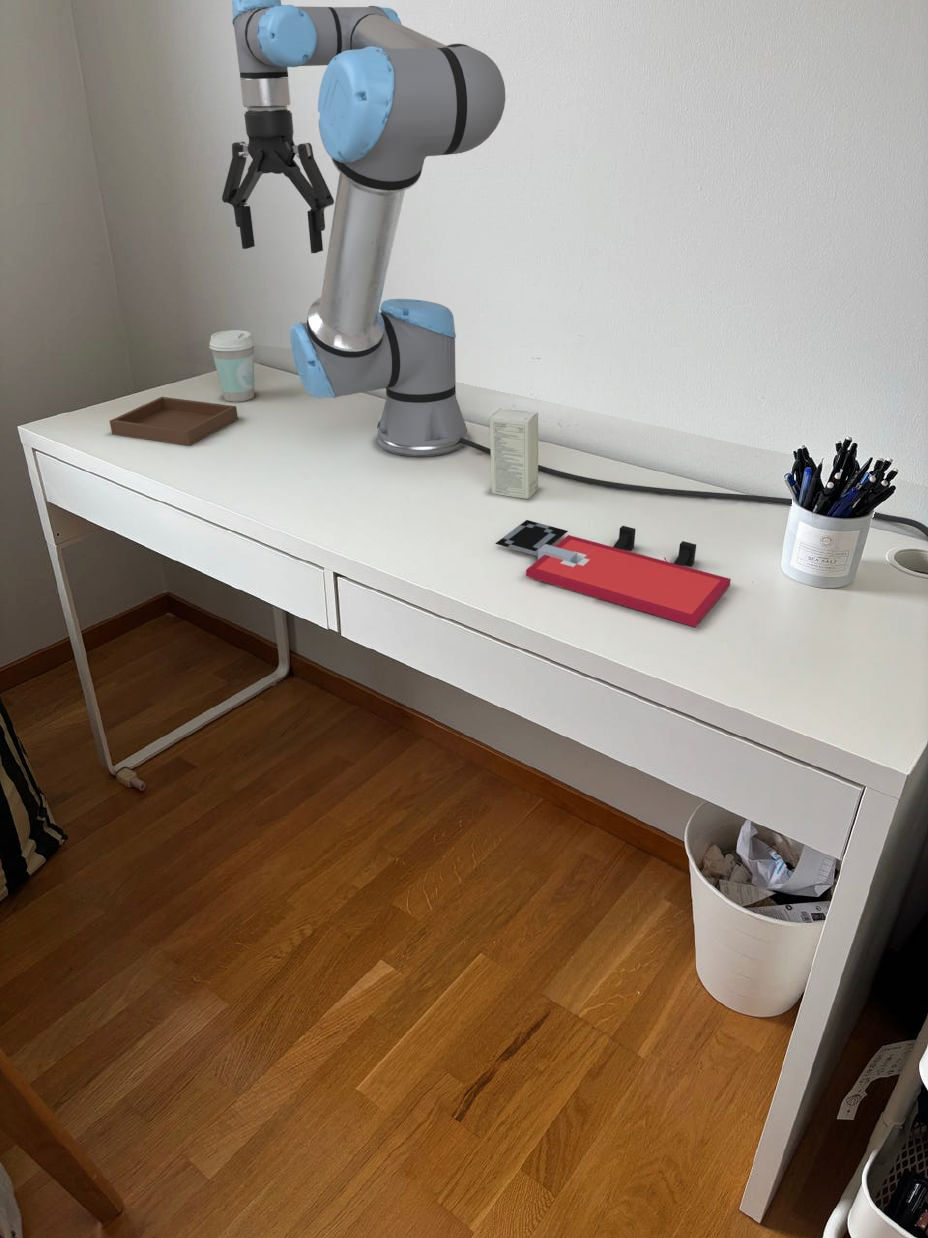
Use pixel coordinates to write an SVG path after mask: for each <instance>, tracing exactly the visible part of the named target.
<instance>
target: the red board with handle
mask: <svg viewBox="0 0 928 1238" xmlns="http://www.w3.org/2000/svg"><path fill="white" fill-rule="evenodd" d="M568 532H569V530H567V529H562V528H558V527H555V526H551V525H547V524H544V523H540V522H536V521H533V520H529V519H525V520H524V521H522V523H520V524H519V525H518V526H516V527H515V528H514V529H512V530H511V531H509V532H508V533H507V534H506V535H504V536H503V537H502V538H500V539H499V540H498V541H496V542H495V543H494V544H495V545H497V546H502V547H505V548H507V549H511V550H515V551H519V552H522V553H526V554H529V555H532V556H536V557H537V560H536V561H535V562H533V563H532V564H531V565H530V566H528V567H527V568H526V569H525V577H527V578H531V579H533V580H536V581H541V582H544V583H547V584H550V585H554V586H557V587H561V588H564V589H567V590H571V591H573V592H576V593H579V594H580V593H581V594H584V595H587V596H591V597H593V598H596V599H600V600H604V601H606V602H611V603H613V604H616V605H620V606H624V607H627V608H630V609H634V610H637V611H641V612H643V613H647V614H651V615H653V616H657V617H660V618H663V619H666V620H670V621H673V622H677V623H680V624H683V625H686V626H690V627H694V628H696V627H698V625H699V623H701V621H702V620H703V619H704V618H705V616H706V615H707V614H708V613H709V611H710V610H711V609H712V608H713V606H715V604H716V603H717V602H718V601H719V599H720V598H721V597H722V596H723V595H724V593H726V591H727V590H728V589H729V587H730V586H731V582H732V581H731V580H732V578H729V577H725V576H722V575H717V574H714V573H710V572H708V571H707V572H706V571H703V570H700V569H697V568H696V569H695V568H692V567H693V566H694V565H695V558H696V551H697V544H696V543H692V542H688V541H684V540H682V541H681V542H680V543H679V549H678V555H677V557H676V559H675V561H674V562H670V561H666V560H663V559H658V558H656V557H652V556H648V555H644V554H640V553H637V552H633V551H632V550H633V549H634V548H635V540H636V528H634V527H630V526H626V525H621V526H620V527H619V531H618V539H617V540H616V542H615V543H614V545H613V546H611V545H607V544H603V543H599V542H596V541H592V540H588V539H584V538H581V537H577V536H573V535H570V534H567V533H568ZM566 534H567V535H566ZM565 535H566V536H565ZM563 536H565V537H563ZM562 537H563V538H562ZM561 538H562V539H561ZM559 539H561V540H560V541H559V542H558V543H557V544H555V545H554V546H553V544H554V543H556V542H557V541H558V540H559Z"/></svg>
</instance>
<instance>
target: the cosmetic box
mask: <svg viewBox="0 0 928 1238" xmlns="http://www.w3.org/2000/svg"><path fill="white" fill-rule="evenodd" d="M489 437H490V438H489V439H490V440H489V441H490V443H489V444H490V449H491V455H490V477H491V478H490V479H491V480H490V481H491V484H490V485H491V494H493V495H500V496H505V497H506V496H507V497H512V498H517V499H525V500H526V499H527V500H528V499H530V498H531V497H532V496H533V495H534V494H535V493H536V491H538V489H539V471H538V465H539V412H538V411H531V410H530V411H529V410H521V409H512V408H511V409H510V408H499V409H498V410H496V411H495V412H494V413H492V414H491V415H490V416H489Z"/></svg>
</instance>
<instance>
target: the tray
mask: <svg viewBox="0 0 928 1238" xmlns="http://www.w3.org/2000/svg"><path fill="white" fill-rule="evenodd" d="M237 409H238V408H237V405H229V404H223V403H222V404H221V403H214V402H205V401H200V400H199V401H198V400H190V399H183V398H176V397H175V398H174V397H168V396H160V397H157V398H156V399H154V400H151V401H150V402H149V401H148V402H147V403H145V404H143V405H140V406H138V407H136V408H134V409H132V410H130V411H127V412H125V413H123V414H120V415H119V416H117V417H114V418H113V419H111V420H109V425H110V430H111V435H115V436H121V437H127V438H134V439H142V440H146V441H147V440H148V441H155V442H162V443H167V444H168V443H169V444H175V445H182V446H188V447H191V446H192V445H194V444H196V443H197V442H199V441H201V440H203V439H205V438H207V437H208V436H209V437H210V435H212V434H214V433H215V432H218V431H219V430H221V429H223V428H225V427H227V426H229V425H230V424H232V423H234V422H237V421H238V420H239V417H238V410H237Z"/></svg>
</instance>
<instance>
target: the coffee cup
mask: <svg viewBox="0 0 928 1238" xmlns="http://www.w3.org/2000/svg"><path fill="white" fill-rule="evenodd" d="M208 344H209V346H208V348H209V349H210V350H211V354H212V357H213V361H214V366H215V368H216V369H215V370H216V372H217V376H218V381H219V384H220V388H221V391H222V395H223V399H224V400H225V401H228V402H235V403H236V402H245V401H249V400H252V399H253V398H255V356H254V355H255V349H254V348H255V345H256V342H255V339H254V338H253V336H252V333H251V332H250V331H247V330H239V329H232V330H231V329H230V330H222V331H218V332H215V333H212V334H211V335H210V340H209V343H208Z"/></svg>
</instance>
